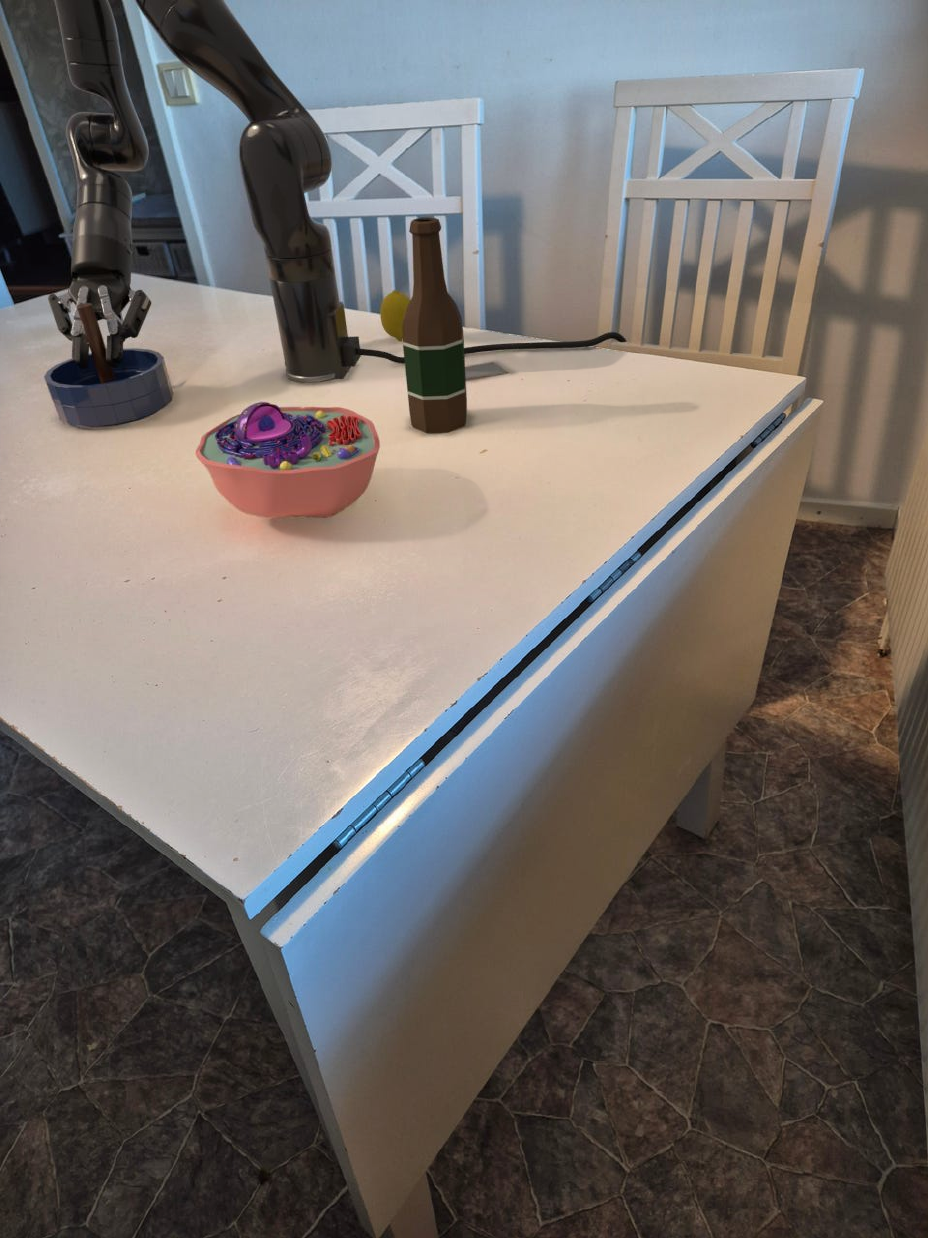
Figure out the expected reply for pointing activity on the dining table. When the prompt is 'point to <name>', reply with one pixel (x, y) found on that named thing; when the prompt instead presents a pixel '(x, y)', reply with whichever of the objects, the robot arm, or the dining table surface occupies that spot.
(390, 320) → the lemon
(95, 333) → the wooden plunger stick
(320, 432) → the cell model
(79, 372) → the blue round bowl
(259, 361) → the dining table surface
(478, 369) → the cleaver
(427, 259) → the beer bottle
